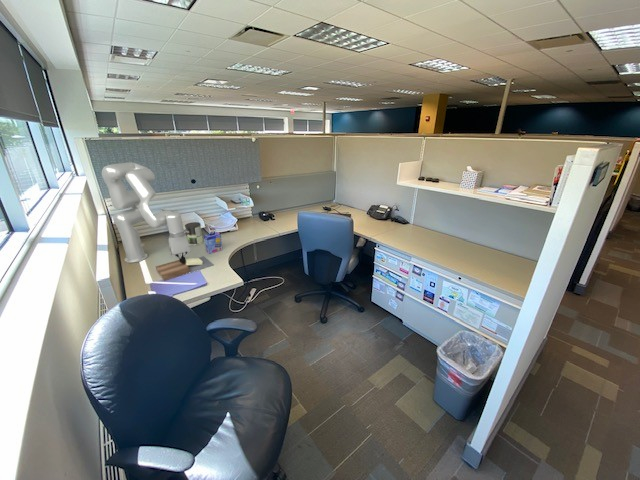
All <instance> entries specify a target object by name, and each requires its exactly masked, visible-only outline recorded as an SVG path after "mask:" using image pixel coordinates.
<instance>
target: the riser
mask: <svg viewBox="0 0 640 480" xmlns="http://www.w3.org/2000/svg"><path fill="white" fill-rule="evenodd" d="M155 270H156V273H158V275H159V276H160V277H161V279H162V281H164V282H165V281H168V280H171V278H172V279H175V278H178V277H181V276H184V275H186V273H187V274H190V273H189V272H190V269H189V267H188V266H187V265H186V264H185V263H184V264H182V263H180V260H179V259H177V260H173V261H170V262H167V263H163V264H160V265H156V266H155ZM183 274H184V275H183Z"/></svg>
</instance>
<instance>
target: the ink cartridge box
mask: <svg viewBox="0 0 640 480" xmlns="http://www.w3.org/2000/svg"><path fill="white" fill-rule="evenodd" d="M203 242H204V245H205V252H206V253H208V254H209V255H210V254H213V253H217V252H221V251H223V246H222V245H223V242H222V235H221V233H220V232H218V231H210V233H207V234H204V235H203Z"/></svg>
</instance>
